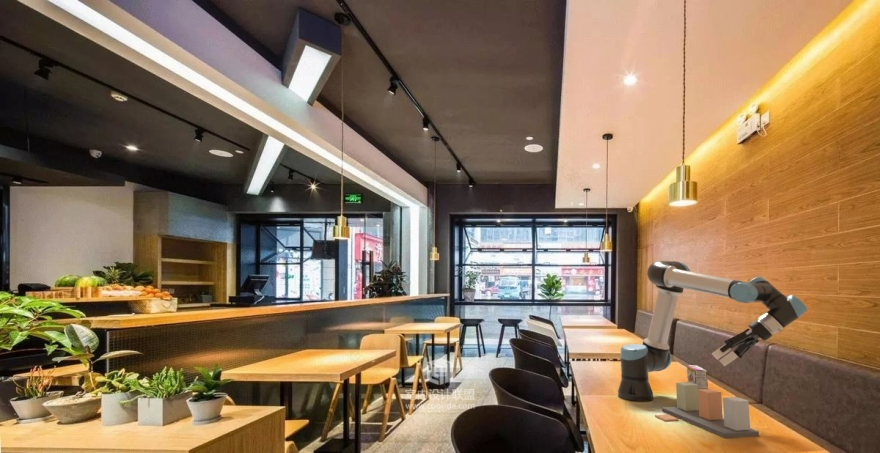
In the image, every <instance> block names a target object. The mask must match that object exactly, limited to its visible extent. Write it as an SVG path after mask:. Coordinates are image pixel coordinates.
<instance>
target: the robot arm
mask: <svg viewBox="0 0 880 453" xmlns="http://www.w3.org/2000/svg"><path fill="white" fill-rule="evenodd" d="M646 274H647V278H648V280H649V281H650V283H651V284H652V285H655V288H656V289H657V296H656V298H655V299H656V300H655V303H654V308H653V312H652V317H651V321H650V325H649V329H648V335H647V337H646V338H644V339H643V340H642V344H641V343H631V344H625V345H623V346H622V347H621V348H620V354H619V357H620V371H621V377H620V378H621V379H620V383H619V386H618V390H617V396H618V397H619V398H621V399H624V400H627V401H628V400H629V401H633V402H634V401H636V402H650V401H653V400H654V392H653V390H652V387H651V385H650V382H649V380H650V379H649V373H653V372H662V371H663V370H666V369H667V368H669V366H670V365H671V363H672V358H673V356H672V354H671V351H670V345H669V344H668V339H669V335H670V331H671V328H672V327H671V326H672V323H673V318H674V315H675V314H674V313H675V310H676V306H677V302H678V297H679V296H680V295H681V294H683V293H684V289H685V290H691V291H694V292H699V293H703V294H709V295H712V296H718V297H722V298H727V299H731V300H734V301H736V302H738V303H743V304H750V303H761V304H762V305H763V306H765V307H766V308H767V309H768V310H767V311H766V312H765V313H763V314H761V316H758V317H757V319H755V320H754V321H752V322H751V323H749V324H748V327H749V328H746V329H745V330H743V331H742V332H740V333H738V334H736V335H734V336H732V337H731V338H728V339H727V340H726V339H725V340H724V344H723V345H721V346H720V347H719V348H717V349H716V350H714V351H713V352H712V353H711V355H712V357H714V359H716V360H718V361H719V363H720V364H721V365H722V366H723V367H726V366H727V365H729V364H730V363H732V362H733V361H735V360H736V359H737V358H739V359H742V358H743V356H744V355H745V354H746V353H747V352H749V350H751V348H753V347H754V346H756V344H759V342H760V340H759V339H761V340H762V341H763V342H764V341H766V342H767V340H769V339H770V338H771V337H773V335H776V334H777V333H779V332H780V333H781V332H782V331H783V329H784V328H786V327H787V326H788V325H790V324H792V323H793V322H794V321H796V320H797V319H800V318H801V316H803V315H804V314H806V312H807V311H808V307H807V305H806V304H805V303H804V301H802V300H801V299H799V298H798V297H797V296H795V295H793V294H790V295H788V296H786V295H784V294H783V293H782V292H781V291H779V290H778V289H777V288H776V287H775V286H774V285H772V284H771V283H770V282H769V280H767V279H765V278H764V277H762V276H756V277H754V278H752V279H751V280H749V281H748V282H747V281H742V280H738V279H737V280H736V279H731V278H726V277H722V276H721V277H720V276H715V275H711V274H710V275H709V274H706V273H705V274H704V273H698V272H694V271H691V270H690V268H689V267H688V265H686V264H685V263H683V262H680V261H677V260H672V261H671V260H666V261H665V260H657V261H655V262H652V263H651V264H650V265H649V266H648V268H647V273H646ZM733 348H735V350H732V349H733ZM723 356H724V357H723ZM720 358H721V359H720Z"/></svg>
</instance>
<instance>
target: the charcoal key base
mask: <svg viewBox="0 0 880 453" xmlns="http://www.w3.org/2000/svg"><path fill="white" fill-rule="evenodd" d="M661 410H662V411H661V412H663V413H664V414H665V413H666V414H668V415H671V416H673V417H675V418H678V419H679V420H681V419H682V421H683V422H686V423H688V422H689V423H688V424H691V425H693V426H695V425H696V427H697V428H701V429H702V428H703V430H704V431H705V430H706V431H707V432H710V433H712V434H715V435H717V436H719V437H722V438H724V439H731V438H733V439H734V438H747V437H759V436H760V431H759V430H756V429H753V428H751V427H750V430H739V431H736V430H733V429H730V428H728V427H725V426H724V417H723V419H720V420H708V419H705V418H703V417H700V416H699V410H694V411H685V410H682V409H680V408H677V406H670V407H669V406H667V407H662V408H661Z"/></svg>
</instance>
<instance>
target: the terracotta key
mask: <svg viewBox="0 0 880 453" xmlns="http://www.w3.org/2000/svg"><path fill="white" fill-rule="evenodd" d="M698 401H699V416H700V417H703V418H705V419H708V420H720V419H723V418H724V413H723V396H722V391H719V390H715V389H713V388H708V389H701V390H698Z"/></svg>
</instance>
